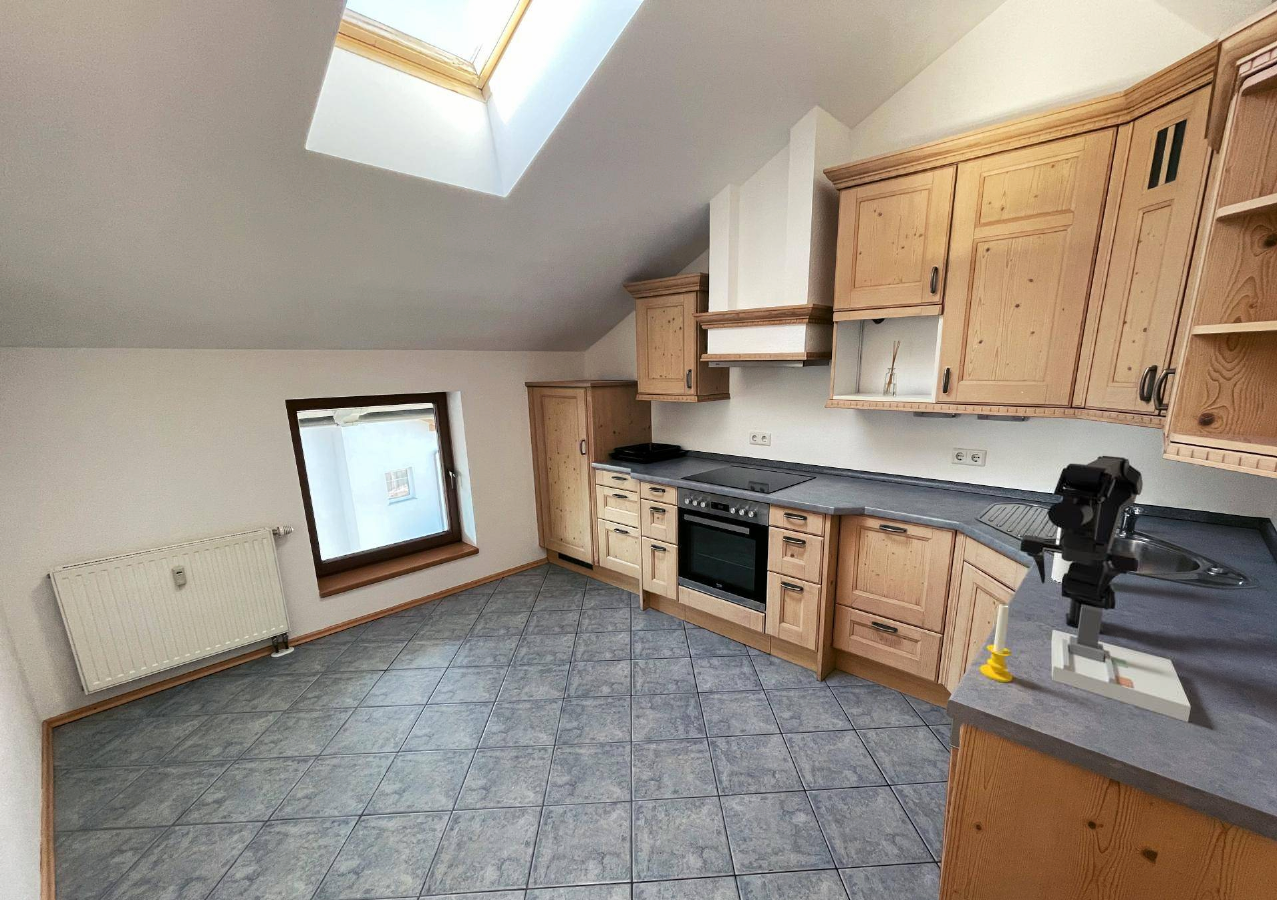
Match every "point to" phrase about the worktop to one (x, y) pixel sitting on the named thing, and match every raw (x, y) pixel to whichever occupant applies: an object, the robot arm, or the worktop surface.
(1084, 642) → the handle
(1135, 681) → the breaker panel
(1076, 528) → the robot arm
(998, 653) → the candle
